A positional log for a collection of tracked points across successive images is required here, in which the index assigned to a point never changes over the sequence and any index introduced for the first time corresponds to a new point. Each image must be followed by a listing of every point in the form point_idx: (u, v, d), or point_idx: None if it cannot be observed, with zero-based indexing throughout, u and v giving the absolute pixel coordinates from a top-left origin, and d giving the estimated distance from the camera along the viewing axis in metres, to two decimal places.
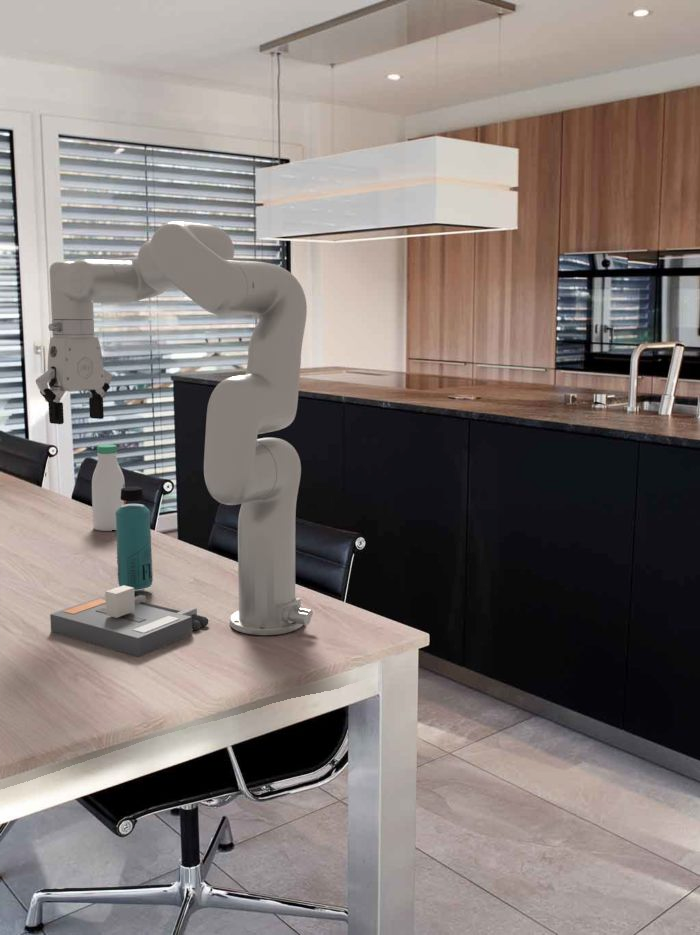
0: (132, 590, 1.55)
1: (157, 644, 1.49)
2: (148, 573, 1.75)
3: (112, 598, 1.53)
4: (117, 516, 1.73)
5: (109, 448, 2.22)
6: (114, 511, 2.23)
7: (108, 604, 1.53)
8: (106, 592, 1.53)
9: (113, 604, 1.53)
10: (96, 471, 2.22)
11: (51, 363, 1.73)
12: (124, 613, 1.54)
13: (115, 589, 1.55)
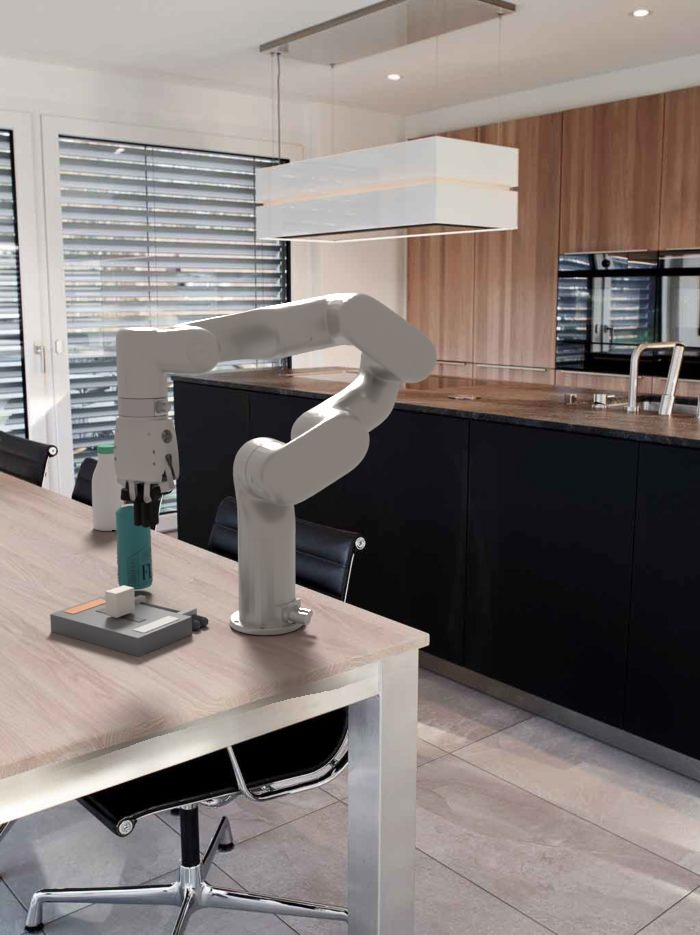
0: (132, 590, 1.55)
1: (157, 644, 1.49)
2: (148, 573, 1.75)
3: (112, 598, 1.53)
4: (117, 516, 1.73)
5: (109, 448, 2.22)
6: (114, 511, 2.23)
7: (108, 604, 1.53)
8: (106, 592, 1.53)
9: (113, 604, 1.53)
10: (96, 471, 2.22)
11: (166, 450, 1.44)
12: (124, 613, 1.54)
13: (115, 589, 1.55)
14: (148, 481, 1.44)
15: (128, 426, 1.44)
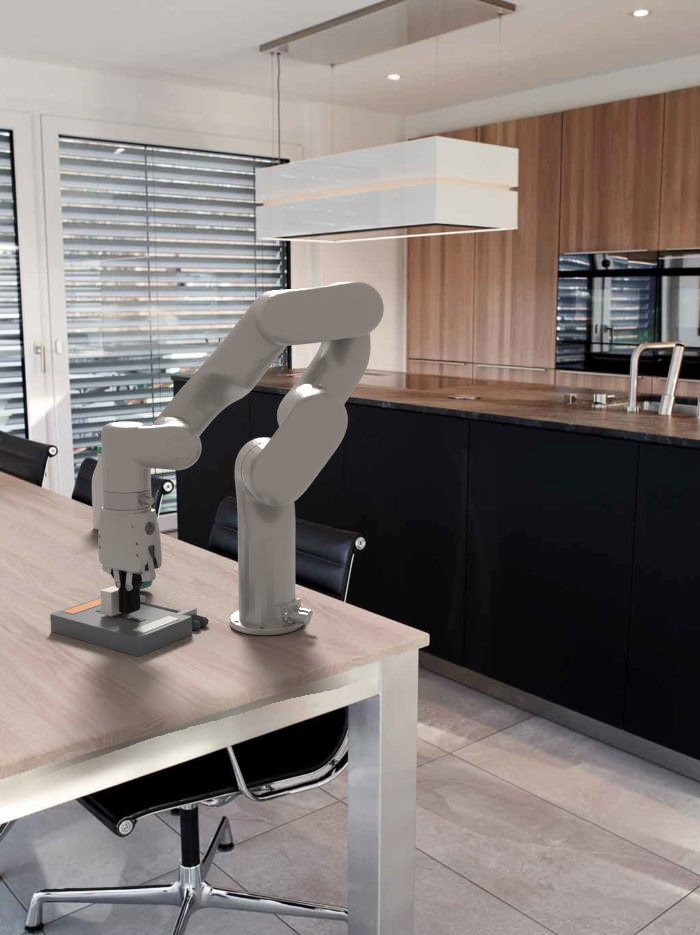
0: None
1: (157, 644, 1.49)
2: None
3: (107, 597, 1.53)
4: None
5: None
6: None
7: (103, 603, 1.54)
8: (101, 591, 1.54)
9: (108, 603, 1.53)
10: (96, 471, 2.22)
11: (149, 542, 1.48)
12: (119, 612, 1.55)
13: (110, 587, 1.55)
14: (131, 571, 1.49)
15: (112, 517, 1.49)
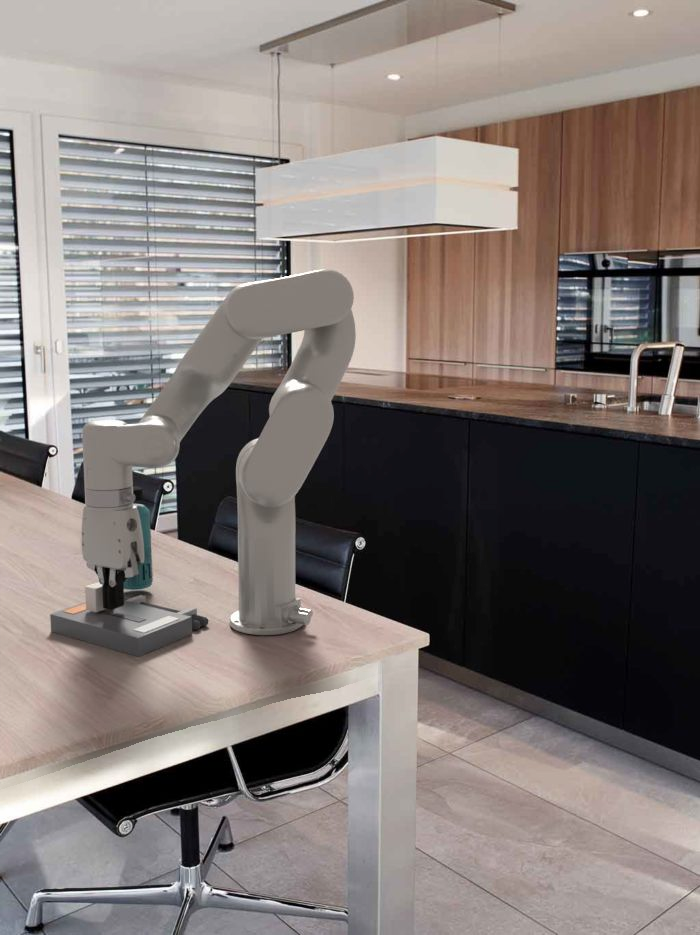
0: None
1: (157, 644, 1.49)
2: (148, 573, 1.75)
3: (92, 593, 1.55)
4: None
5: None
6: None
7: (88, 599, 1.56)
8: (86, 587, 1.56)
9: (93, 599, 1.55)
10: None
11: (131, 538, 1.50)
12: (103, 608, 1.57)
13: (94, 584, 1.57)
14: (114, 567, 1.51)
15: (94, 515, 1.51)
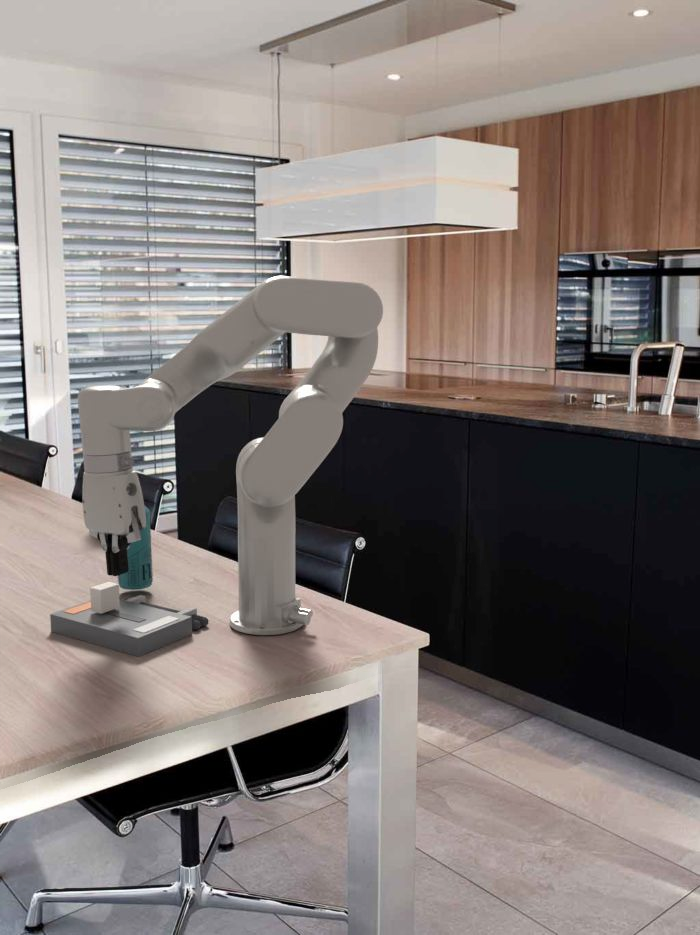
0: (117, 587, 1.57)
1: (157, 644, 1.49)
2: (148, 573, 1.75)
3: (97, 594, 1.55)
4: None
5: None
6: None
7: (93, 600, 1.55)
8: (91, 588, 1.55)
9: (98, 600, 1.55)
10: None
11: (131, 503, 1.50)
12: (109, 609, 1.56)
13: (100, 585, 1.57)
14: (116, 532, 1.51)
15: (94, 481, 1.51)
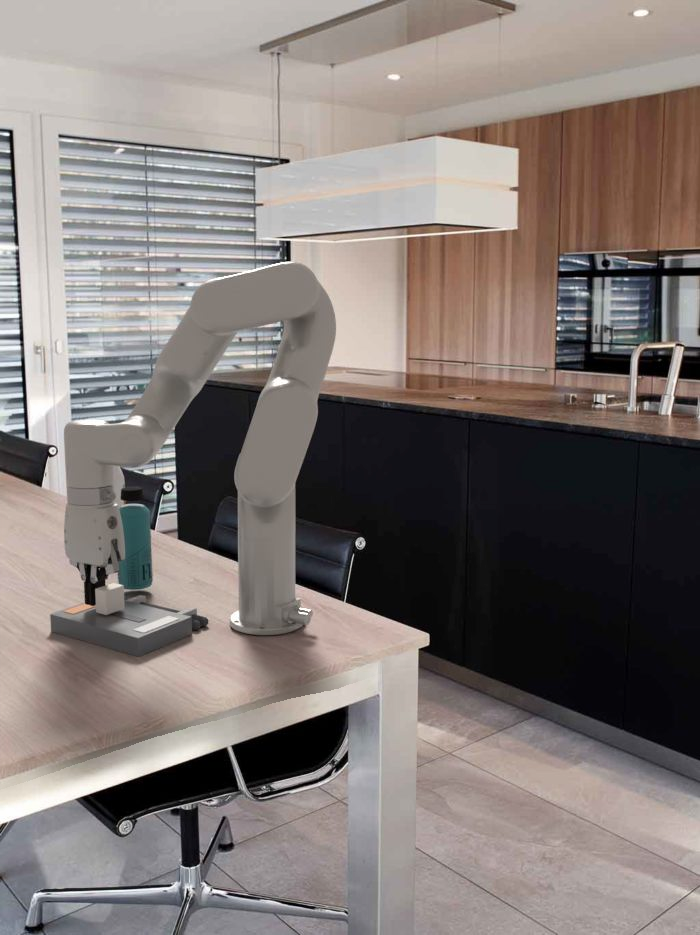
0: (122, 588, 1.57)
1: (157, 644, 1.49)
2: (148, 573, 1.75)
3: (102, 595, 1.54)
4: None
5: None
6: None
7: (98, 601, 1.55)
8: (96, 590, 1.55)
9: (103, 601, 1.54)
10: None
11: (111, 536, 1.53)
12: (114, 610, 1.55)
13: (104, 586, 1.56)
14: (95, 564, 1.54)
15: (76, 512, 1.54)
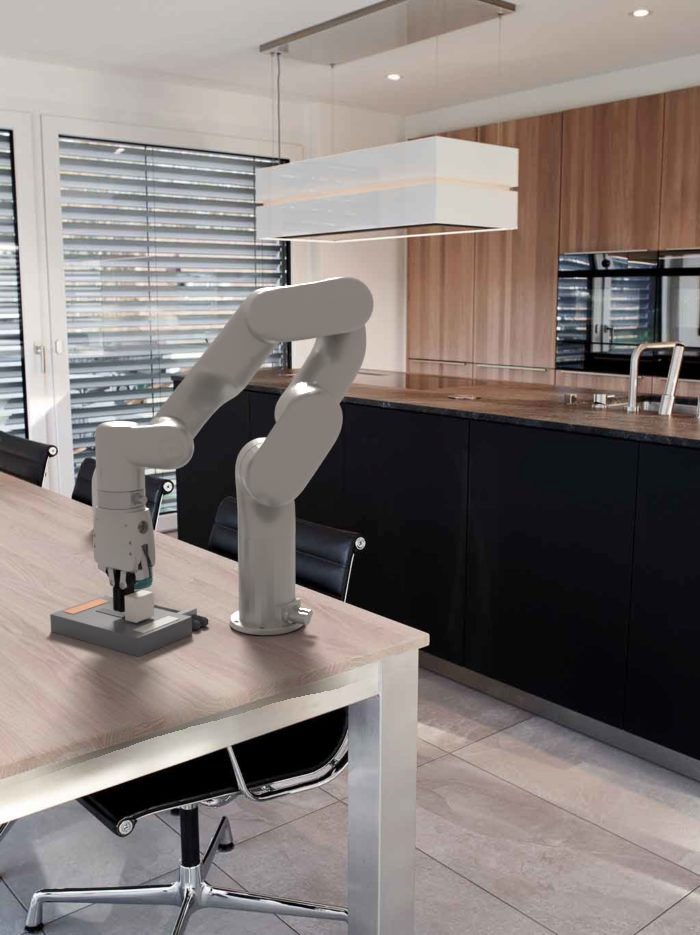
0: (152, 595, 1.53)
1: (157, 644, 1.49)
2: None
3: (131, 603, 1.50)
4: None
5: None
6: None
7: (127, 609, 1.51)
8: (125, 597, 1.51)
9: (133, 609, 1.50)
10: None
11: (142, 541, 1.49)
12: (143, 618, 1.52)
13: (134, 593, 1.52)
14: (125, 569, 1.50)
15: (106, 516, 1.50)
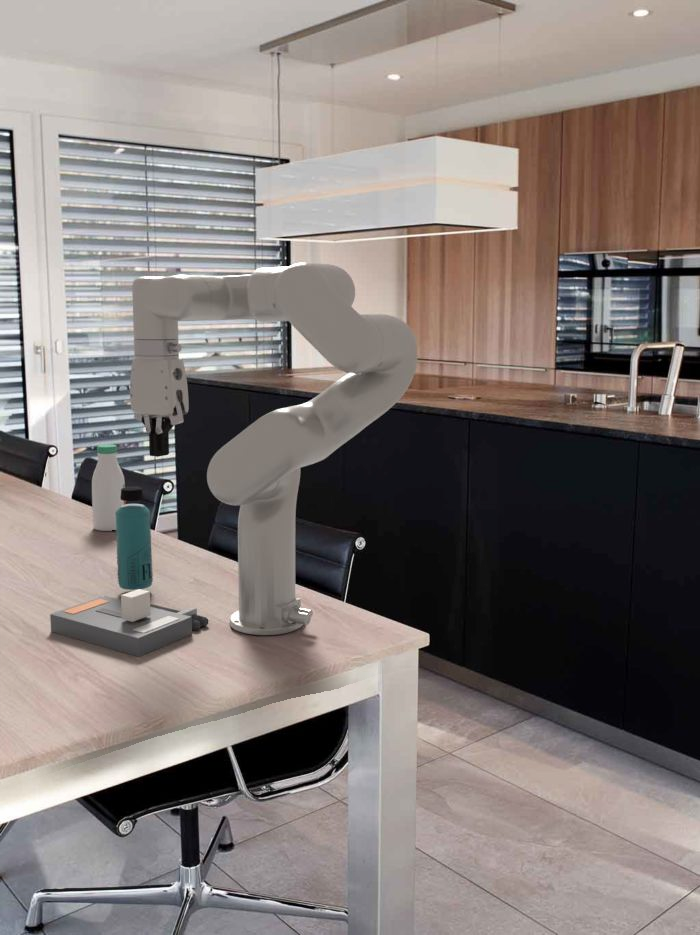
0: (148, 594, 1.53)
1: (157, 644, 1.49)
2: (148, 573, 1.75)
3: (128, 602, 1.51)
4: (117, 516, 1.73)
5: (109, 448, 2.22)
6: (114, 511, 2.23)
7: (124, 608, 1.52)
8: (122, 596, 1.51)
9: (129, 608, 1.51)
10: (96, 471, 2.22)
11: (177, 386, 1.61)
12: (140, 617, 1.52)
13: (130, 592, 1.53)
14: (161, 414, 1.62)
15: (143, 365, 1.62)
